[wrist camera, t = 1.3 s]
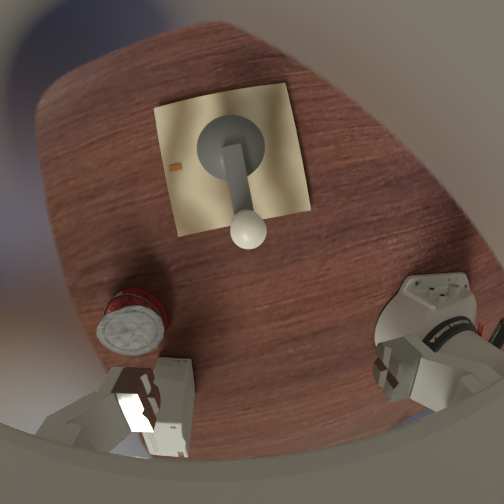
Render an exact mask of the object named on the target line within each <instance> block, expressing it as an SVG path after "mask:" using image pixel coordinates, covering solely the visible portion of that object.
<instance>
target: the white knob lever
mask: <svg viewBox="0 0 504 504" xmlns="http://www.w3.org/2000/svg"><path fill="white" fill-rule="evenodd" d="M264 154H265V141H264V137H263V135H262V133H261V131H260V129H259V128H258V127H257V126H256V125H255V124H254V123H253V122H252V121H250V120H249V119H247V118H245V117H242V116H238V115H225V116H221V117H218V118H216V119H214V120H212V121H211V122H209V123H208V124H207V125H206V126H205V127H204V129H203V130H202V131H201V133H200V135H199V138H198V141H197V155H198V159H199V161H200V163H201V165H202V166H203V168H204V169H205V170H206V171H207V172H208V173H209V174H211V175H212V176H214V177H216V178H218V179H221V180H225V181H227V182H228V187H229V192H230V197H231V202H232V207H233V212H234V216H233V218H232V220H231V237H232V240H233V241H234V243H235V244H236V245H238V246H239V247H241V248H244V249H253V248H256V247H258V246H259V245H261V244H262V242H263V241H264V239H265V237H266V233H267V230H266V225H265V223H264V221H263V220H262V219H261V217H260V216H259V215H258V214H257V213H256V212H255V211H254V209H253V203H252V198H251V193H250V188H249V183H248V178H247V176H249V175H250V174H252V173H253V172H254V171H255V170H256V169H257V168H258V167H259V165H260V164H261V162H262V160H263V157H264Z"/></svg>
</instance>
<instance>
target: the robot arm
mask: <svg viewBox="0 0 504 504" xmlns="http://www.w3.org/2000/svg"><path fill="white" fill-rule="evenodd" d="M416 282H417V283H416ZM415 283H416V284H415ZM476 312H477V305H476V299H475V296H474V295H473V293H472V292H471V291H470V288H469V282H468V278H467V276H466V274H464V273H463V272H456V273H442V274H426V275H411V276H408V277H407V278H406V279H405V280H404V282H403V284H402V286H401V288H400V290H399V292H398V293H397V295H396V296H395V297H394V298H393V299H392V300H391V301H390V302H389V303H388V305H387V306H386V307H385V309H384V310H383V312H382V313H381V315H380V317H379V319H378V322H377V325H376V329H375V344H376V352H375V353H376V354H377V356H378V358H377V359H376V360H375V362H374V366H373V374H374V378H375V381H376V382H377V384H378V385H379V386H381V387H384V390H383V393H384V394H385V396H386V397H387V399H388V400H389V402H390V403H392V402H395V401H399V400H402V399H406V398H409V397H410V398H411V399H413V400H415V401H416V402H418V403H420V404H422V405H424V406H426V407H428V408H430V409H432V410H434V411H436V412H435V413H433V414H430V415H428V416H426V417H423V418H421V419H418V420H416V421H413V422H410V423H408V424H405V425H402V426H400V427H397V428H394V429H391V430H388V431H385V432H381V433H378V434H375V435H371V436H368V437H365V438H361V439H357V440H353V441H350V442H346V443H341V444H337V445H333V446H328V447H323V448H319V449H313V450H308V451H302V452H296V453H290V454H283V455H275V456H267V457H257V458H246V459H230V460H171V459H155V458H144V457H134V456H126V455H118V454H112V453H109V452H110V451H111V450H112V449H113V448H114V447H116V445H118V444H119V443H120V442H121V441H122V440H123V439H124V438H125V437H126V436H128V435H129V434H130V433H131V431H142V432H153V431H154V428H155V424H156V421H157V418H156V416H155V414H156V413H157V412H159V410H160V406H161V397H160V391H159V388H158V387H157V386H156V385H155V384H154V383H153V382H154V379H155V376H154V373H153V370H152V369H151V368H134V367H112V368H111V369H110V371H109V372H108V374H107V376H106V378H105V379H104V381H103V383H102V384H101V386H100V387H99V389H98V391H97V392H94V391H93V392H92V393H90V394H88V395H87V396H84V397H83V398H81V399H79V400H77V401H75V402H74V403H72V404H70V405H68V406H66V407H64V408H62V409H61V410H59V411H57V412H55V413H53V414H51V415H49V416H47V417H46V419H45V420H44V422H43V423H42V425H41V426H40V428H39V430H38V431H37V433H36V434H35V435H32V434H29V433H26V432H23V431H20V430H18V429H15V428H12V427H10V426H7V425H4V424H2V423H0V504H504V352H503V351H501V350H500V349H498V348H497V347H495V346H494V345H492V344H491V343H489V342H488V341H486V340H485V339H483V338H482V334H483V328H484V325H482V329H481V323H480V322H479V326H478V331H477V330H476V328H475V327H474V326H475V321H476Z"/></svg>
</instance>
